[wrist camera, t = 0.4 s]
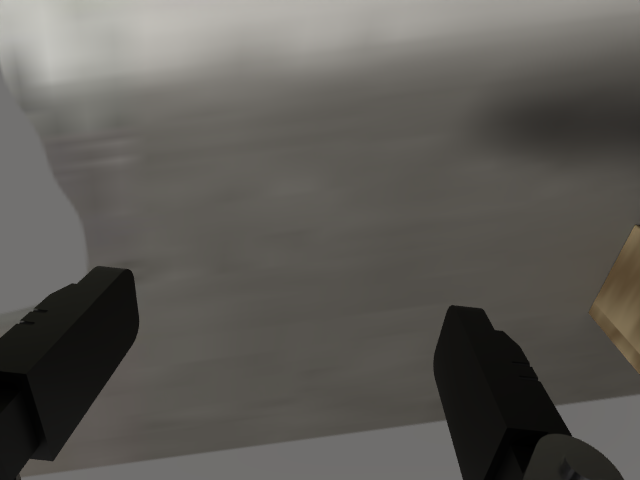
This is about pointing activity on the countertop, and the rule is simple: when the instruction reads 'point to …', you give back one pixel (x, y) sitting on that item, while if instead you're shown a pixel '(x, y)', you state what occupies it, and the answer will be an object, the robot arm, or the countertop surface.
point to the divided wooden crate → (622, 301)
